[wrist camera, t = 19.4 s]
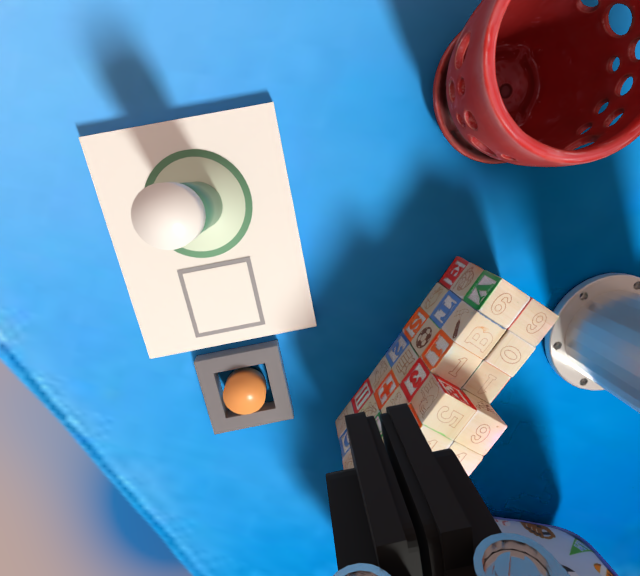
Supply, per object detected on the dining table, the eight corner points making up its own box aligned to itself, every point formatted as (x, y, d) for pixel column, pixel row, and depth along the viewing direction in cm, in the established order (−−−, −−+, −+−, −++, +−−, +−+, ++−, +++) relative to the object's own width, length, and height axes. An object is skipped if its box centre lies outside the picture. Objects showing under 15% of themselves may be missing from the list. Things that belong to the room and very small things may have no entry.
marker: (218, 176, 35) (191, 178, 26) (228, 226, 36) (206, 244, 27) (168, 184, 35) (122, 188, 26) (180, 233, 36) (140, 255, 27)
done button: (261, 363, 41) (260, 373, 39) (270, 399, 42) (269, 410, 40) (221, 371, 41) (218, 381, 39) (231, 406, 42) (228, 418, 40)
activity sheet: (273, 103, 35) (273, 101, 34) (316, 322, 41) (316, 326, 40) (84, 138, 35) (78, 137, 34) (153, 354, 40) (149, 359, 39)
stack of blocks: (455, 252, 40) (526, 287, 28) (503, 285, 41) (590, 331, 30) (333, 421, 44) (351, 514, 32) (381, 447, 45) (415, 544, 34)
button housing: (277, 339, 41) (277, 345, 40) (293, 410, 43) (293, 418, 42) (196, 355, 41) (193, 362, 39) (217, 425, 43) (214, 434, 42)
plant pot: (570, 149, 38) (692, 140, 27) (431, 182, 38) (494, 187, 27) (562, -13, 35) (700, -105, 23) (408, 22, 34) (469, -52, 23)
